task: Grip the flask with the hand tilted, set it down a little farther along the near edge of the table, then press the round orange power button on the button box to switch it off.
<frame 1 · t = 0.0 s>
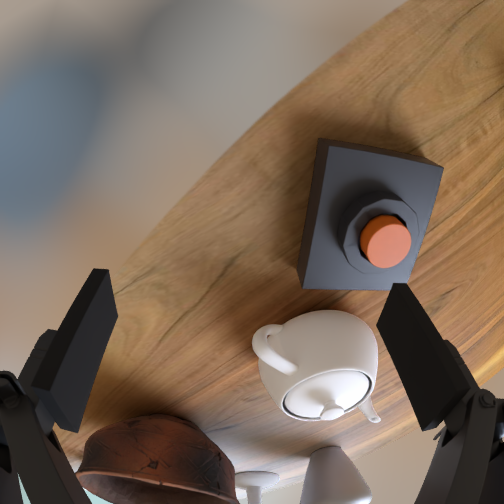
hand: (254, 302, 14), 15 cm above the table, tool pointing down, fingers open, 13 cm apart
power button: (385, 241, 24), point 5 cm above the table, slide at 0.1 cm
candlestick: (253, 478, 63), on the table
button box: (362, 213, 28), on the table
teapot: (317, 342, 37), on the table
bowl: (164, 425, 47), on the table
vase: (326, 451, 56), on the table
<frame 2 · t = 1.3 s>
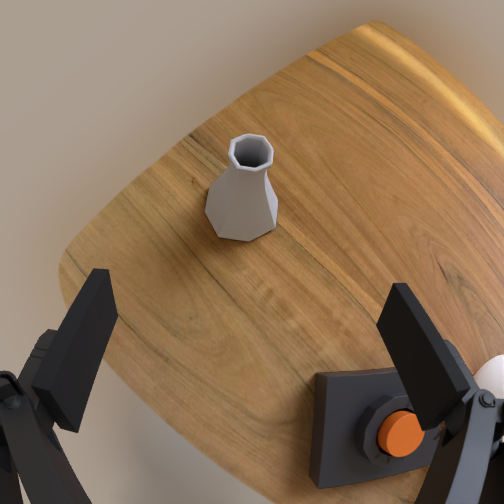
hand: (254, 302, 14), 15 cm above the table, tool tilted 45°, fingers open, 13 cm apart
flask: (241, 207, 31), on the table
power button: (401, 433, 21), point 5 cm above the table, slide at 0.1 cm
button box: (374, 420, 26), on the table
teapot: (483, 402, 28), on the table
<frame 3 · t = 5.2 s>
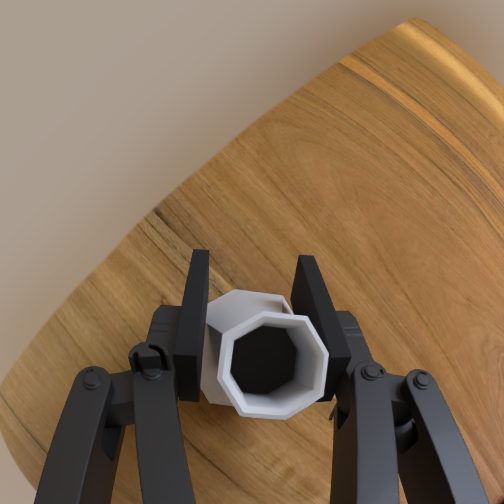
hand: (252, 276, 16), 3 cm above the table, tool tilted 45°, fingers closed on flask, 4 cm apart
flask: (245, 349, 18), on the table, touching gripper
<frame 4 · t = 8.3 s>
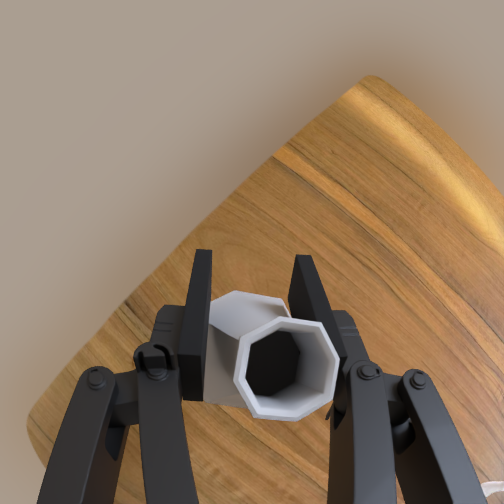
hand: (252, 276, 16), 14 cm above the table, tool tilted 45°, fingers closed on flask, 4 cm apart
flask: (243, 350, 18), point 10 cm above the table, touching gripper
when the fingers open (4 cm above the table, at t = 11.5 s): flask stays where it is, on the table.
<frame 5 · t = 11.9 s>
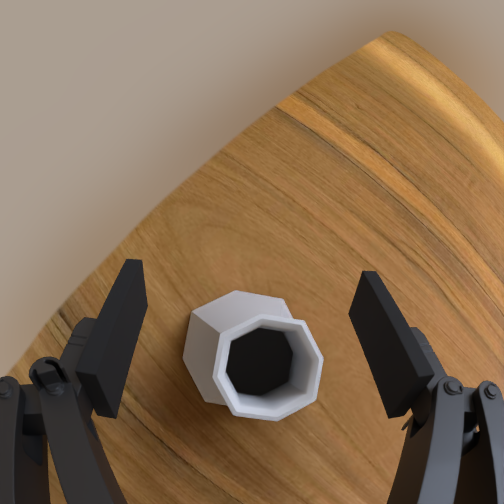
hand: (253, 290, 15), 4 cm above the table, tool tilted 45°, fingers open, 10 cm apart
flask: (243, 350, 18), on the table
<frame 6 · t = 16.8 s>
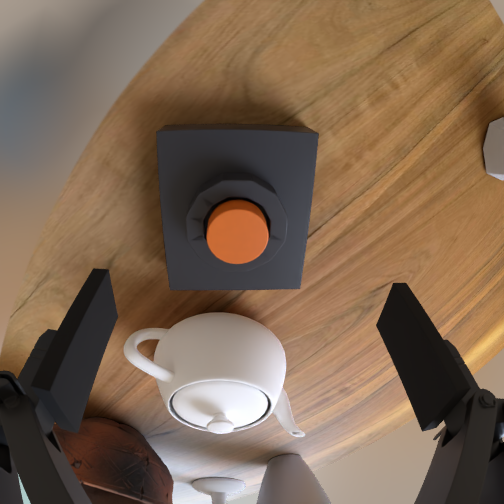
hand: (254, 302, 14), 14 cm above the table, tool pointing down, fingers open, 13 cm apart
flask: (500, 147, 24), on the table
power button: (237, 231, 21), point 5 cm above the table, slide at 0.1 cm
candlestick: (218, 484, 60), on the table
button box: (235, 202, 26), on the table
teapot: (224, 346, 34), on the table
bowl: (108, 428, 44), on the table
vase: (284, 459, 53), on the table
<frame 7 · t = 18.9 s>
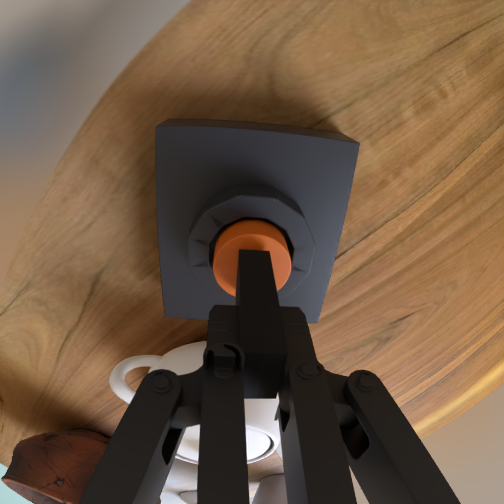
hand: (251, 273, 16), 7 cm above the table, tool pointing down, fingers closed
power button: (251, 260, 17), point 5 cm above the table, slide at 0.0 cm, touching gripper
candlestick: (207, 496, 56), on the table
button box: (248, 218, 21), on the table
teapot: (224, 373, 30), on the table
bowl: (94, 440, 40), on the table
vase: (277, 478, 49), on the table
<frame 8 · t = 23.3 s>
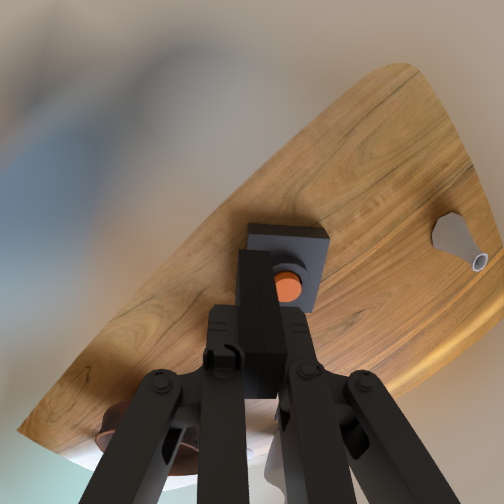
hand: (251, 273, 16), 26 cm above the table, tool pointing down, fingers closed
flask: (446, 230, 46), on the table
power button: (285, 286, 43), point 5 cm above the table, slide at 0.1 cm
button box: (280, 265, 47), on the table
bowl: (161, 403, 66), on the table
vase: (287, 430, 75), on the table
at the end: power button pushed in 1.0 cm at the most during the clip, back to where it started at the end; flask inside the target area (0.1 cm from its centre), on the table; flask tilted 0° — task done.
